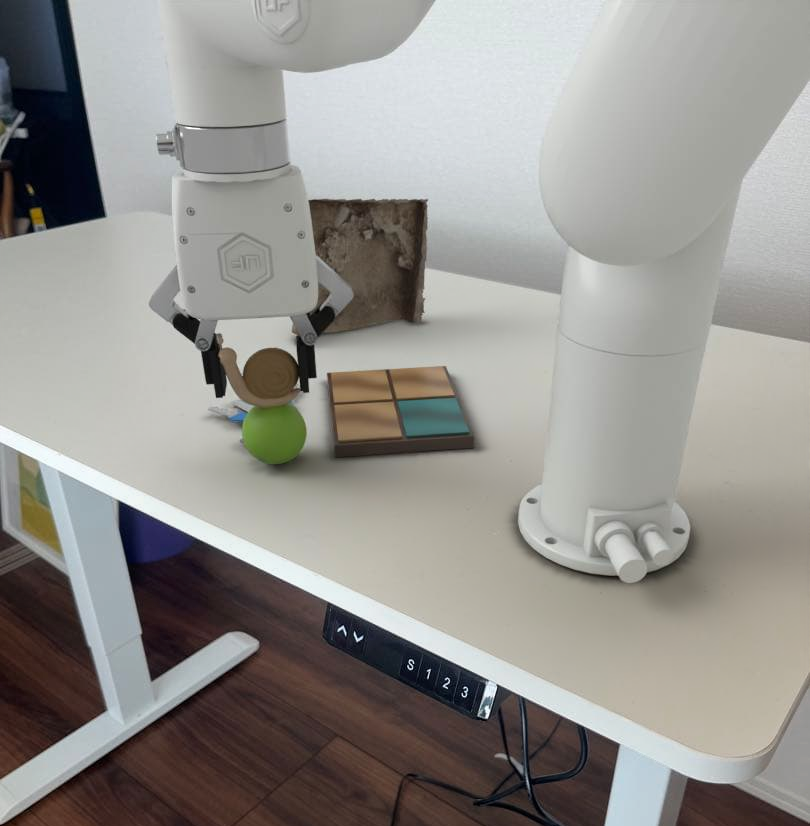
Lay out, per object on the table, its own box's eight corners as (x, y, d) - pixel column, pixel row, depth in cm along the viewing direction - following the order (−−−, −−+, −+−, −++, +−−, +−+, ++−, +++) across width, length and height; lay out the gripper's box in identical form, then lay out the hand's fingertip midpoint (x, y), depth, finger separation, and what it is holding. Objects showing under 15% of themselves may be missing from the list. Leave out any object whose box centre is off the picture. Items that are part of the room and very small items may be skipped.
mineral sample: (298, 347, 93) (286, 206, 85) (287, 335, 96) (274, 198, 88) (431, 324, 99) (431, 190, 90) (416, 314, 102) (416, 183, 93)
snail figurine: (230, 449, 72) (210, 321, 65) (301, 437, 74) (290, 311, 66) (239, 483, 68) (219, 351, 61) (314, 470, 70) (304, 340, 62)
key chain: (285, 453, 72) (284, 445, 72) (192, 455, 72) (190, 447, 71) (300, 388, 83) (299, 380, 83) (219, 389, 83) (218, 381, 83)
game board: (474, 448, 73) (474, 433, 72) (335, 457, 72) (334, 443, 71) (445, 376, 86) (445, 363, 85) (327, 383, 85) (326, 370, 84)
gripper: (97, 164, 53) (150, 415, 63) (362, 155, 55) (371, 401, 65) (117, 144, 59) (162, 376, 70) (354, 137, 61) (364, 365, 71)
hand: (263, 386), depth 67 cm, fingers closed on snail figurine, 6 cm apart
